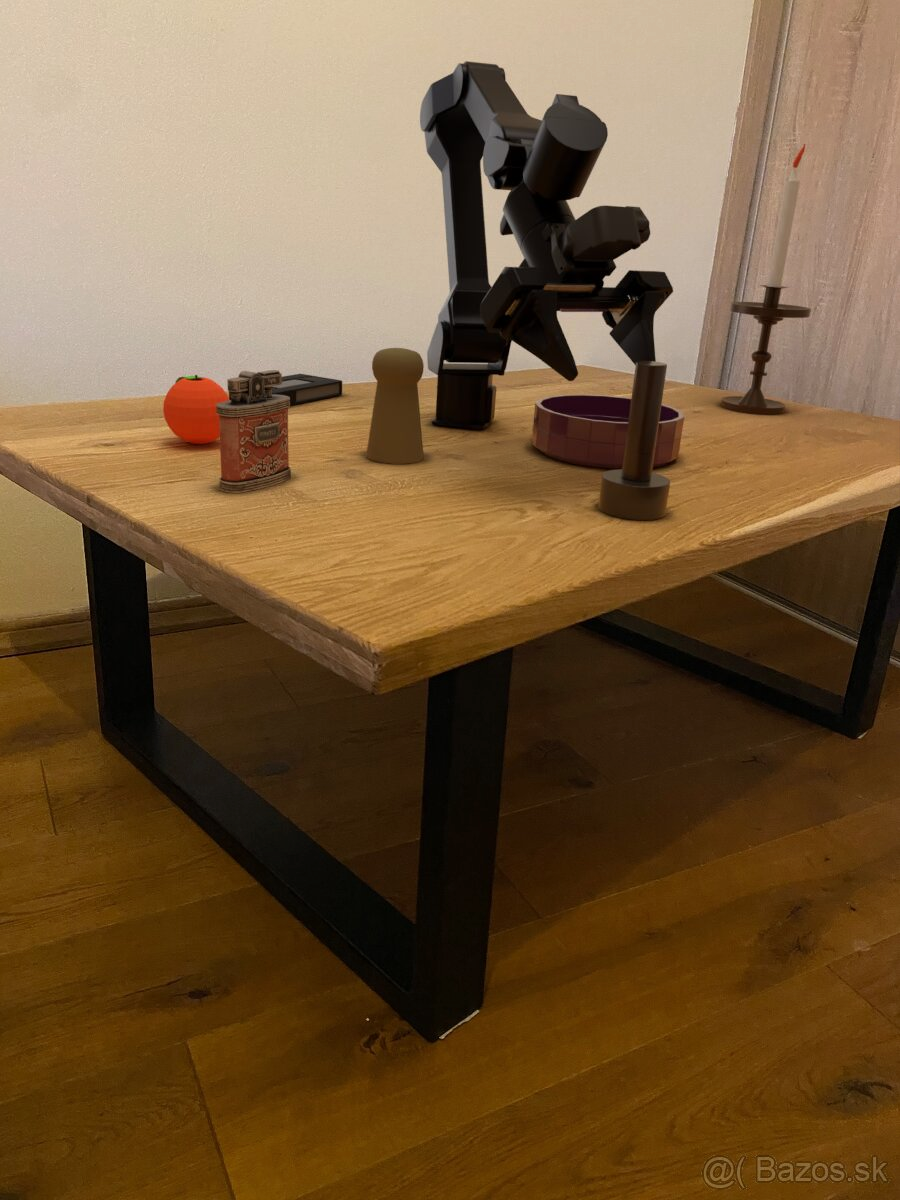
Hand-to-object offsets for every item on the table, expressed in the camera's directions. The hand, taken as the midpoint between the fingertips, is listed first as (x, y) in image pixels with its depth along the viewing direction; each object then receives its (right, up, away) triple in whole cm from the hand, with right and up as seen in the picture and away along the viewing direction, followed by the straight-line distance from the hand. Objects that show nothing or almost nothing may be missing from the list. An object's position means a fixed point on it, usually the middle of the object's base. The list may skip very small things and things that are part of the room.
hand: (614, 376), depth 82 cm
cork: (-20, -5, +15) cm, 26 cm away
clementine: (-41, -3, +16) cm, 45 cm away
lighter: (-32, -9, +3) cm, 34 cm away
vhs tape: (-36, +7, +41) cm, 55 cm away
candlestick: (+30, +8, +54) cm, 62 cm away
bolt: (+2, -12, +1) cm, 12 cm away
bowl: (+3, -3, +22) cm, 22 cm away
